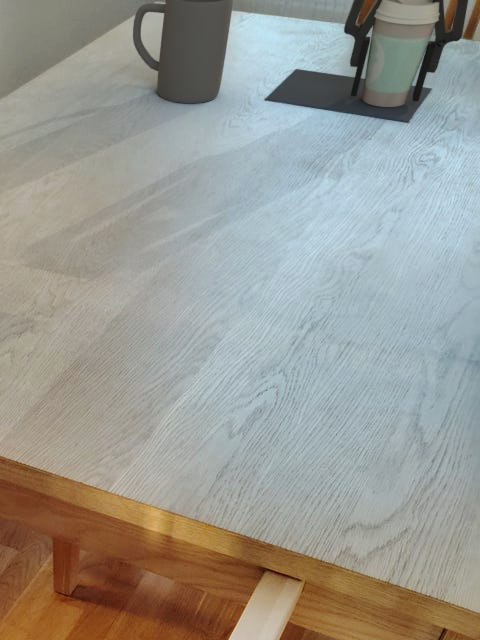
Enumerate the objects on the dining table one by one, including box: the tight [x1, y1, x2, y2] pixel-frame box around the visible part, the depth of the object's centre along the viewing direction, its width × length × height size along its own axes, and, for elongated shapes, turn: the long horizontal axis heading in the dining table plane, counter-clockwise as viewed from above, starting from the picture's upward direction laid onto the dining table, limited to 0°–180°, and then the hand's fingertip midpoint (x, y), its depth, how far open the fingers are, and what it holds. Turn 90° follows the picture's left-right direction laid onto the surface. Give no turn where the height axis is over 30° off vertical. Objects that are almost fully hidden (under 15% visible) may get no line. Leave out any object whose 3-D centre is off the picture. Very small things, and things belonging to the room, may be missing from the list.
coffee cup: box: [362, 0, 440, 107], centre depth 121 cm, size 9×9×12 cm
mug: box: [132, 0, 234, 104], centre depth 126 cm, size 14×9×12 cm
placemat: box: [264, 68, 433, 123], centre depth 128 cm, size 20×15×1 cm
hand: (384, 95), depth 125 cm, fingers closed on coffee cup, 8 cm apart
